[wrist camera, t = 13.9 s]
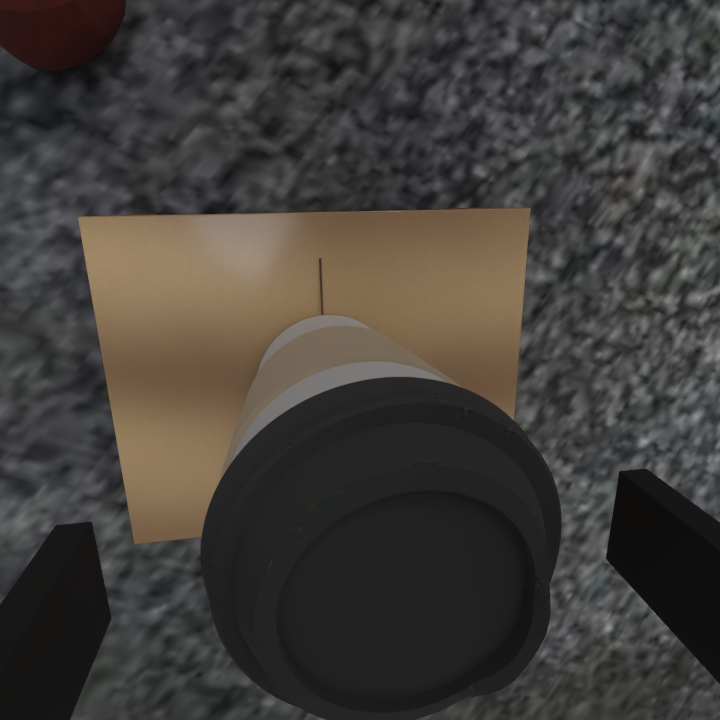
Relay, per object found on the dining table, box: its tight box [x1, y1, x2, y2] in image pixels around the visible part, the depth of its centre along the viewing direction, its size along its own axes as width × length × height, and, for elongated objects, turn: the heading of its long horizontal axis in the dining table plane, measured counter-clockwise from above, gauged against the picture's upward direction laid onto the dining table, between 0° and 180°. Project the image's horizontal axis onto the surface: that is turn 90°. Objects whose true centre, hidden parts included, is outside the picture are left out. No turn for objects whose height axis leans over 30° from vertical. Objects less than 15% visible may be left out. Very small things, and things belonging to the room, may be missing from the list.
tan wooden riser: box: [78, 208, 530, 544], centre depth 29 cm, size 16×20×9 cm
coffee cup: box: [201, 315, 561, 720], centre depth 18 cm, size 9×9×15 cm
